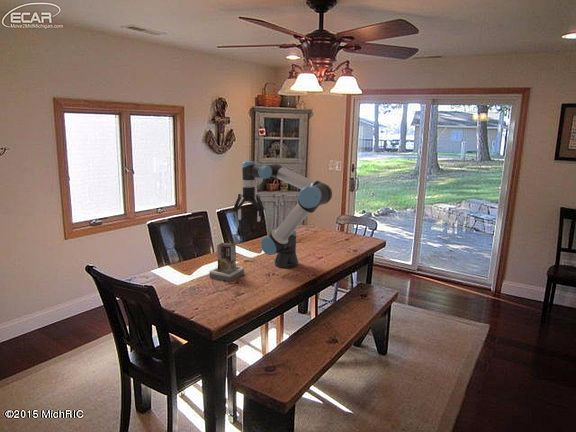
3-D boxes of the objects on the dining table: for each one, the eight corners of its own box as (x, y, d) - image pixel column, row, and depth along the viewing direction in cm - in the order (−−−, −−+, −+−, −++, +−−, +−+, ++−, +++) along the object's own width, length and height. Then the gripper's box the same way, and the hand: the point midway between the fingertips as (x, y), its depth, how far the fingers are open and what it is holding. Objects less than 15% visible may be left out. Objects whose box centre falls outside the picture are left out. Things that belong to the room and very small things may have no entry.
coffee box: (236, 270, 244) (236, 243, 241) (231, 273, 238) (230, 246, 235) (222, 268, 247) (222, 242, 244) (217, 271, 241) (216, 245, 238)
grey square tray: (244, 273, 247) (244, 267, 246) (230, 281, 233) (229, 275, 233) (224, 269, 252) (224, 263, 252) (209, 277, 239) (209, 271, 238)
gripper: (269, 186, 254) (269, 220, 258) (234, 184, 263) (234, 217, 267) (264, 188, 247) (264, 223, 251) (228, 186, 256) (228, 219, 260)
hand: (249, 220), depth 259 cm, fingers open, 13 cm apart
